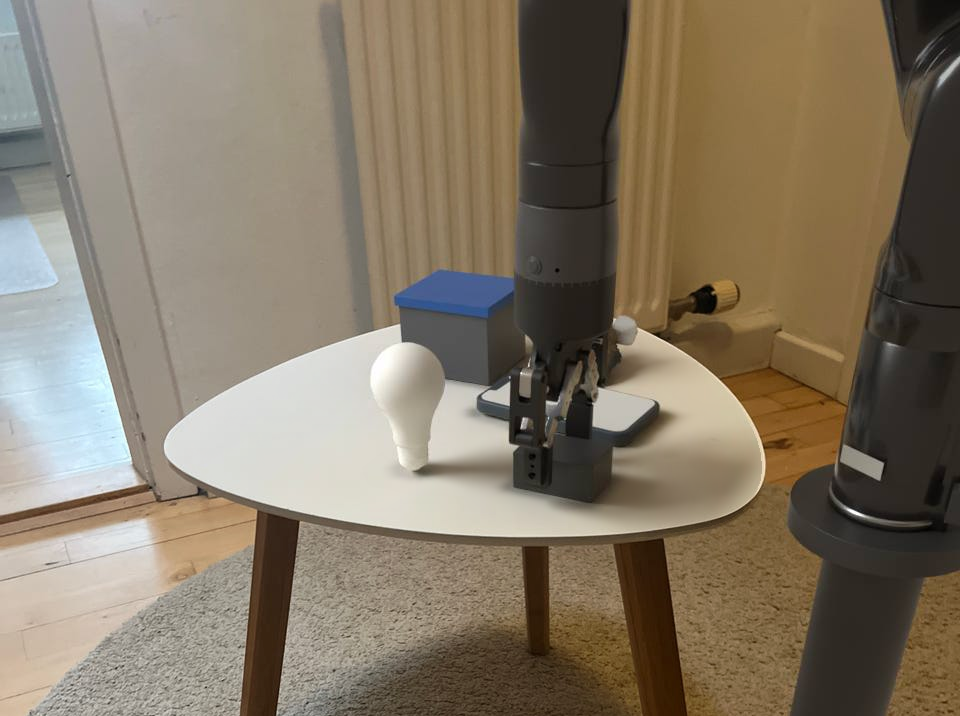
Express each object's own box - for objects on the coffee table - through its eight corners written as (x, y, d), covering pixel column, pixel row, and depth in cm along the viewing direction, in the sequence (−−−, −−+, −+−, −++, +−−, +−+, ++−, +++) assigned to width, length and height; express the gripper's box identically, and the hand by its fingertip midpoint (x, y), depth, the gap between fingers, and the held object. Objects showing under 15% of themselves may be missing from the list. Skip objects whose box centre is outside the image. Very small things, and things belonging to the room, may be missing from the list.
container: (529, 355, 106) (529, 279, 101) (490, 387, 99) (488, 308, 94) (443, 342, 110) (439, 269, 105) (399, 372, 103) (393, 295, 98)
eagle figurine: (563, 340, 106) (527, 352, 99) (603, 286, 102) (568, 294, 95) (613, 388, 105) (581, 403, 98) (656, 336, 101) (625, 348, 94)
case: (611, 478, 83) (613, 443, 81) (591, 503, 79) (592, 467, 77) (535, 464, 85) (535, 429, 83) (513, 487, 82) (512, 451, 80)
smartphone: (663, 416, 93) (517, 382, 100) (665, 400, 92) (517, 367, 99) (623, 453, 87) (470, 414, 94) (624, 436, 86) (470, 398, 93)
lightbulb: (408, 447, 89) (399, 326, 82) (463, 464, 86) (458, 339, 79) (364, 474, 85) (351, 349, 78) (420, 492, 82) (411, 364, 75)
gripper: (575, 298, 65) (567, 512, 75) (646, 244, 75) (630, 439, 85) (475, 284, 68) (479, 492, 78) (556, 234, 78) (551, 424, 88)
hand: (558, 464), depth 81 cm, fingers open, 8 cm apart
